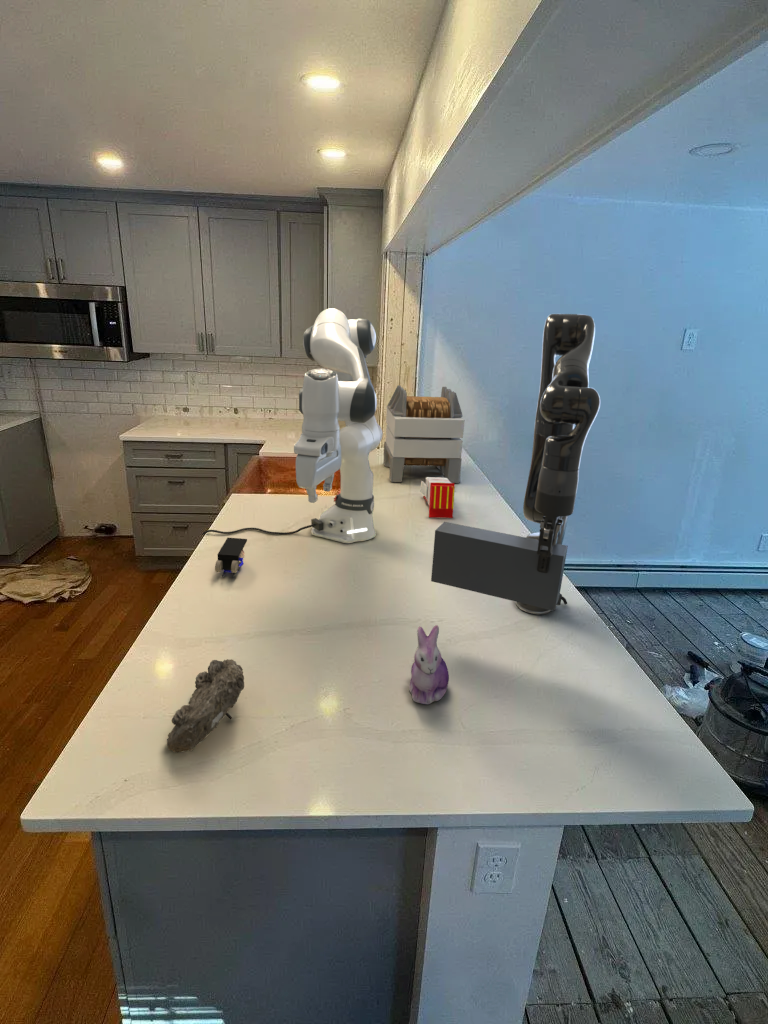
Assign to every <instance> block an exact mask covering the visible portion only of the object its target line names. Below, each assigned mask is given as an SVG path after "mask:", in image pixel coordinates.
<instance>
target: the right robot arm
mask: <svg viewBox="0 0 768 1024" xmlns="http://www.w3.org/2000/svg"><path fill="white" fill-rule="evenodd" d="M595 336H596V324H595V320H594V318H593V317H592V316H591V315H588V314H584V313H550V314H549V315H548V316H547V317H546V319H545V322H544V326H543V333H542V346H541V362H540V363H541V364H540V367H541V368H540V381H539V390H538V391H539V392H538V396H537V398H538V399H537V404H536V405H537V406H536V411H535V419H534V427H533V439H532V440H533V441H532V451H531V460H530V467H529V472H528V479H527V483H526V488H525V493H524V498H523V504H522V505H523V507H522V510H523V511H522V512H523V516H524V519H526V520H527V521H529V522H532V523H536V524H539V528H540V529H539V531H536V532H531V533H529V534H528V535H527V536H526V538H531V539H536V540H538V541H539V543H538V550H537V555H539V559H538V566H537V571H538V572H542V573H548V571H549V564H550V558H551V555H552V549H553V546H555V545H556V544H561V545H563V543H564V538H565V534H566V530H567V529H566V528H567V524H568V521H569V516H571V515H573V514H574V511H575V506H576V505H575V504H576V499H577V492H578V487H579V482H580V481H579V480H580V479H579V478H580V465H581V459H582V454H583V450H584V446H585V442H586V439H587V437H588V434H589V432H590V430H591V428H592V426H593V424H594V421H596V417H597V416H598V413H599V411H600V408H601V397H600V394H599V392H598V391H597V389H595V388H594V387H589V385H590V378H589V366H590V362H591V359H592V354H593V349H594V343H595V338H596V337H595ZM556 357H559V358H558V359H557V360H556ZM543 546H547V547H548V550H544V549H542V548H543ZM562 602H563V604H564V605H568V601H567V599H566V598H565V597H564V596H563V594H562V593H560V595H559V600H558V603H557V605H556V607H557V606H561V604H562ZM515 603H516V606H517V608H518V609H519V610H521V611H523V612H525V613H527V614H529V615H530V614H531V615H538V616H542V615H547V614H549V613H551V612H552V610H549V609H545V608H541V607H537V606H532V605H528V604H524V603H520V602H516V601H515Z"/></svg>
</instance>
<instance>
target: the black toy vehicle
mask: <svg viewBox="0 0 768 1024" xmlns="http://www.w3.org/2000/svg"><path fill="white" fill-rule="evenodd" d="M247 542H248V538H240V537H226V539H225V541H224V543H223V544H222V546H221V547H220V549H219V551H218V552H217V560H216V562H215V564H214V572H215V573H221V577H222V578H224V577H225V576H226V574H227V573H230V574H231V573H232V574H231V578H234V577H235V575H236V573H237V572H239V571H240V567H242V566H243V565H244V564H245V562H244V558H245V551H244V547H245V546H246V544H247Z"/></svg>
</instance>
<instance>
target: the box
mask: <svg viewBox="0 0 768 1024" xmlns="http://www.w3.org/2000/svg"><path fill="white" fill-rule="evenodd" d="M526 537H527V536H526ZM526 537H525V536H520V535H515V534H510V533H505V532H501V531H500V532H499V531H495V530H490V529H486V528H485V529H484V528H479V527H473V526H469V525H463V524H459V523H453V522H449V521H448V522H447V521H443V522H442V523H441V524H440V525H439V526H438V527H437V528H436V529H434V540H433V552H432V565H431V579H430V582H433V583H435V584H436V583H437V584H442V585H445V586H449V587H453V588H457V589H461V590H466V591H470V592H475V593H479V594H482V595H487V596H492V597H495V598H500V599H504V600H508V601H512V602H515V603H516V602H520V603H524V604H528V605H532V606H537V607H541V608H545V609H549V610H551V611H556V608H557V606H558V605H557V603H558V600H559V595H560V594H561V589H562V582H563V576H564V570H565V565H566V559H567V555H568V554H567V553H568V545H566V544H562V545H561V544H556V545H555V546H553V549H552V555H551V558H550V564H549V571H548V573H542V572H538V571H537V566H538V559H539V555H537V550H538V543H539V541H538V540H536V539H531V538H526ZM542 549H544V550H548V547H547V546H543V548H542ZM556 605H557V606H556Z"/></svg>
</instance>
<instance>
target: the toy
mask: <svg viewBox="0 0 768 1024" xmlns="http://www.w3.org/2000/svg"><path fill="white" fill-rule="evenodd" d="M455 488H456V486H455V483H451V482H450V481H449V480H448V479H447V478H444V477H436V476H435V477H434V476H425V482H424V481H423V480H421V481H420V491H419V492H420V493H421V494H422V495H423V499H424V500H425V501H426V503H427V504H428V518H434V519H435V518H436V519H437V518H438V519H453V517H454V506H455V504H454V503H455Z"/></svg>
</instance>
